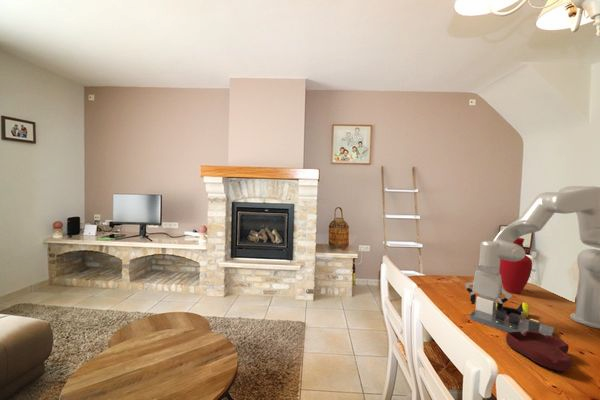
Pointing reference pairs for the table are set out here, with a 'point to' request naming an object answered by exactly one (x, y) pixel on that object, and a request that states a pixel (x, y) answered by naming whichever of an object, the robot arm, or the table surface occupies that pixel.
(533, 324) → the toggle
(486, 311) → the chalk-white cube
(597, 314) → the robot arm
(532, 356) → the ashtray
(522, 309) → the gaming controller
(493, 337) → the table surface
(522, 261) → the vase
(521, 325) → the panel
